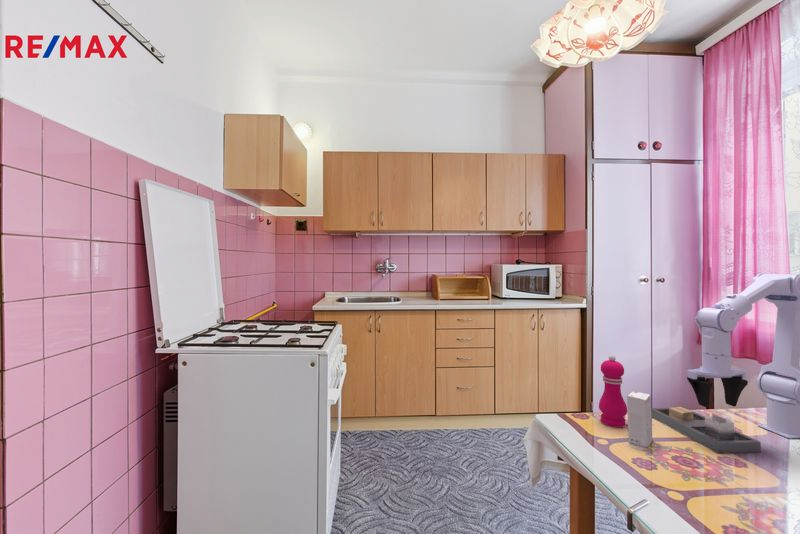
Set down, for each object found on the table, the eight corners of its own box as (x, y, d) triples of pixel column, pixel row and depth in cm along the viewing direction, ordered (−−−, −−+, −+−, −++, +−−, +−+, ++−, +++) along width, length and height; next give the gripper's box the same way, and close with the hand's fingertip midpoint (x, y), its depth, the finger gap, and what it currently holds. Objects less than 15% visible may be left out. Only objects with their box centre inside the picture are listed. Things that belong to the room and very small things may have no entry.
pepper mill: (632, 429, 99) (631, 358, 99) (604, 427, 100) (603, 357, 101) (621, 419, 106) (620, 353, 106) (595, 417, 107) (594, 352, 108)
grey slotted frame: (684, 415, 108) (684, 407, 108) (760, 452, 86) (760, 442, 86) (650, 416, 108) (650, 408, 108) (718, 453, 86) (717, 443, 86)
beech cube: (679, 419, 105) (679, 406, 105) (693, 425, 101) (693, 411, 101) (669, 421, 104) (668, 407, 104) (682, 427, 100) (682, 413, 100)
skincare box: (647, 448, 88) (647, 400, 88) (627, 442, 91) (626, 395, 92) (653, 440, 92) (652, 394, 93) (633, 434, 96) (632, 390, 96)
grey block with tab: (719, 438, 93) (719, 413, 93) (734, 446, 89) (733, 419, 89) (705, 439, 93) (704, 413, 93) (719, 446, 89) (719, 419, 89)
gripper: (727, 349, 96) (728, 399, 96) (677, 350, 96) (677, 400, 95) (754, 355, 89) (755, 409, 89) (700, 356, 89) (701, 410, 88)
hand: (717, 405), depth 92 cm, fingers open, 7 cm apart
